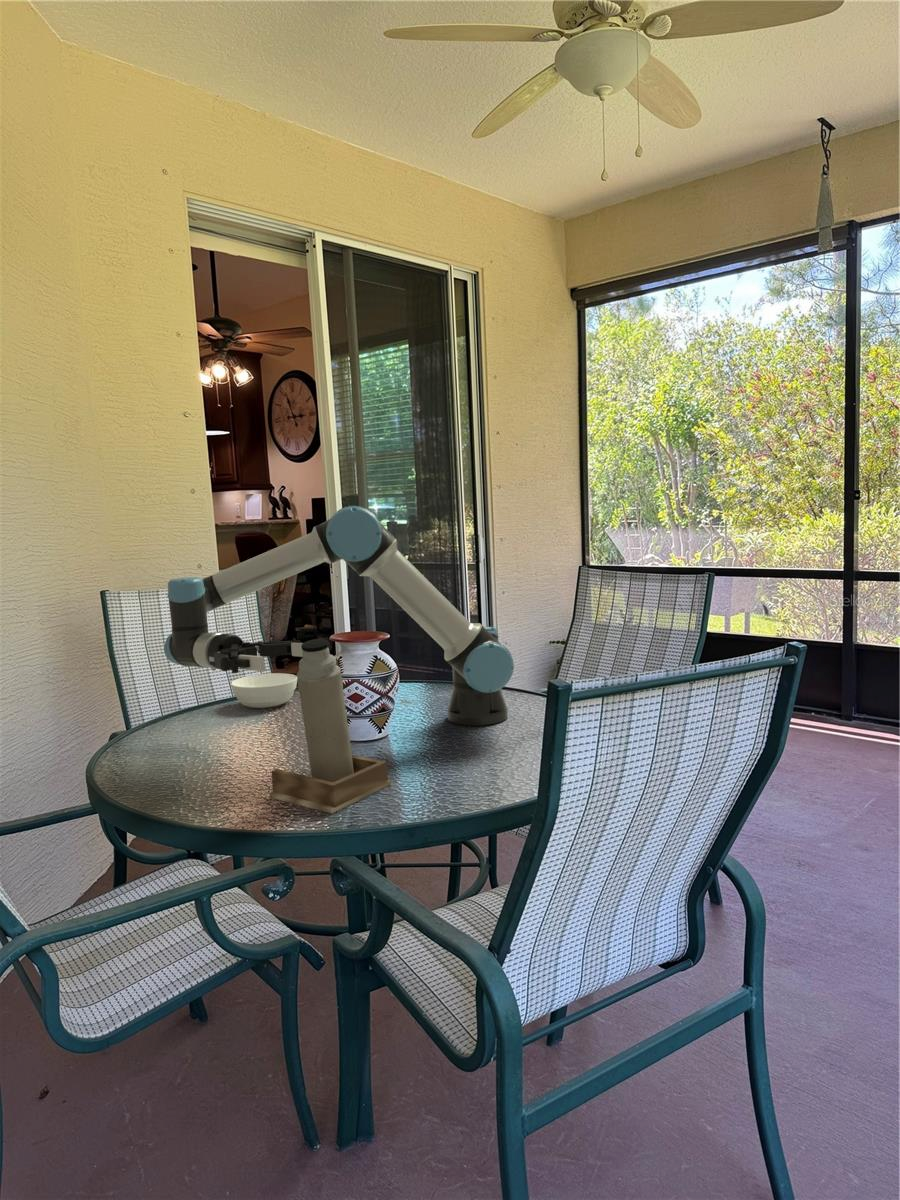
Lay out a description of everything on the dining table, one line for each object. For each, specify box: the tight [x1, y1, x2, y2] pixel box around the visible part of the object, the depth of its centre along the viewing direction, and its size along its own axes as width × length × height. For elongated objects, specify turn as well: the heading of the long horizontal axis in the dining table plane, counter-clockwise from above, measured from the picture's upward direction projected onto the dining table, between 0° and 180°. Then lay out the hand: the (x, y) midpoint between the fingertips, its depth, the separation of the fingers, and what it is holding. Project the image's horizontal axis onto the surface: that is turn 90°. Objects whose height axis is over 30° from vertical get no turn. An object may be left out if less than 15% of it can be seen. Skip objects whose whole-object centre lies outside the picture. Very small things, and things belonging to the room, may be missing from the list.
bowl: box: [230, 672, 298, 709], centre depth 212 cm, size 18×18×7 cm
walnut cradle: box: [269, 754, 391, 815], centre depth 141 cm, size 16×16×5 cm
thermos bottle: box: [296, 638, 354, 782], centre depth 139 cm, size 8×8×28 cm
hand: (290, 657), depth 146 cm, fingers open, 13 cm apart
